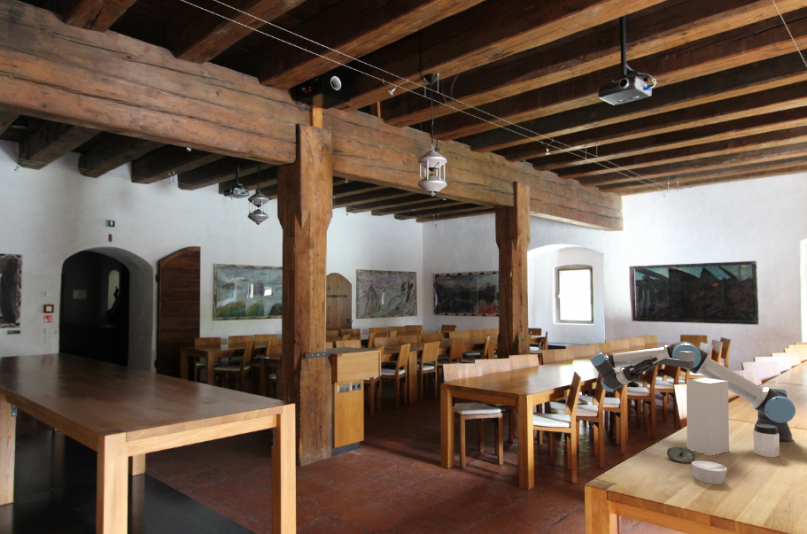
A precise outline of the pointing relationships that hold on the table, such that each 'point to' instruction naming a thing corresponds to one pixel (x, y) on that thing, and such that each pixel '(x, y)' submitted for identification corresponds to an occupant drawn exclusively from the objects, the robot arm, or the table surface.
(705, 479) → the ramekin
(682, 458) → the lid
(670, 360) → the handle bar
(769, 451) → the jar
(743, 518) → the table surface
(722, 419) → the stand
